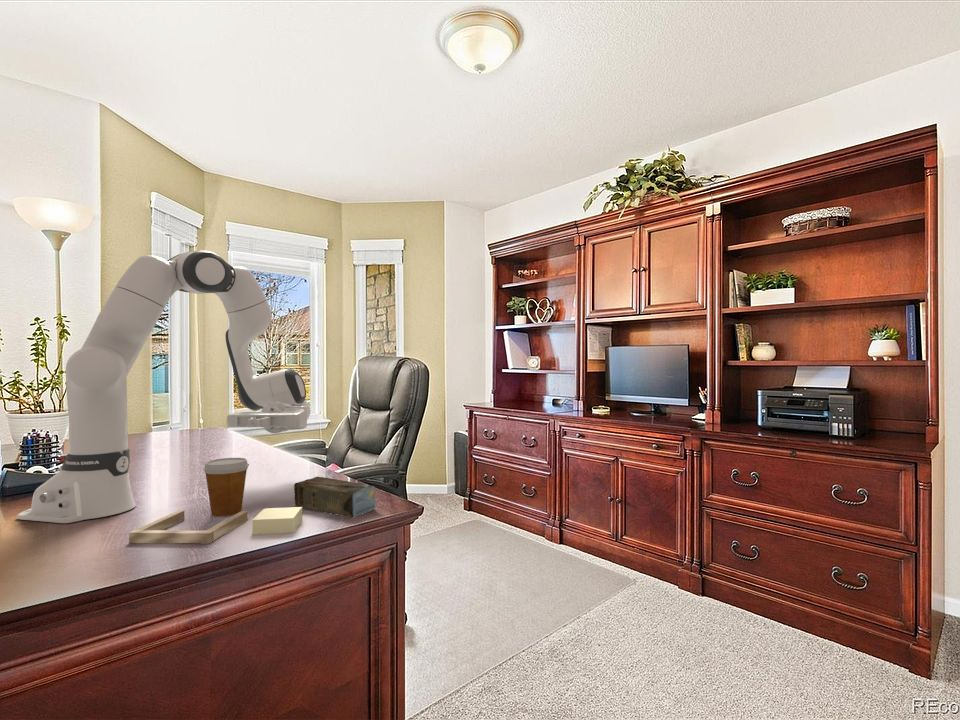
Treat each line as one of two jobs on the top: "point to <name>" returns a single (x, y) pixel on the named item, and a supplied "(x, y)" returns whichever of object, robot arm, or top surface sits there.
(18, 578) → the top surface
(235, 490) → the disposable coffee cup
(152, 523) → the frame
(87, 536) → the top surface
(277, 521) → the note block
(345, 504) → the beverage carton
